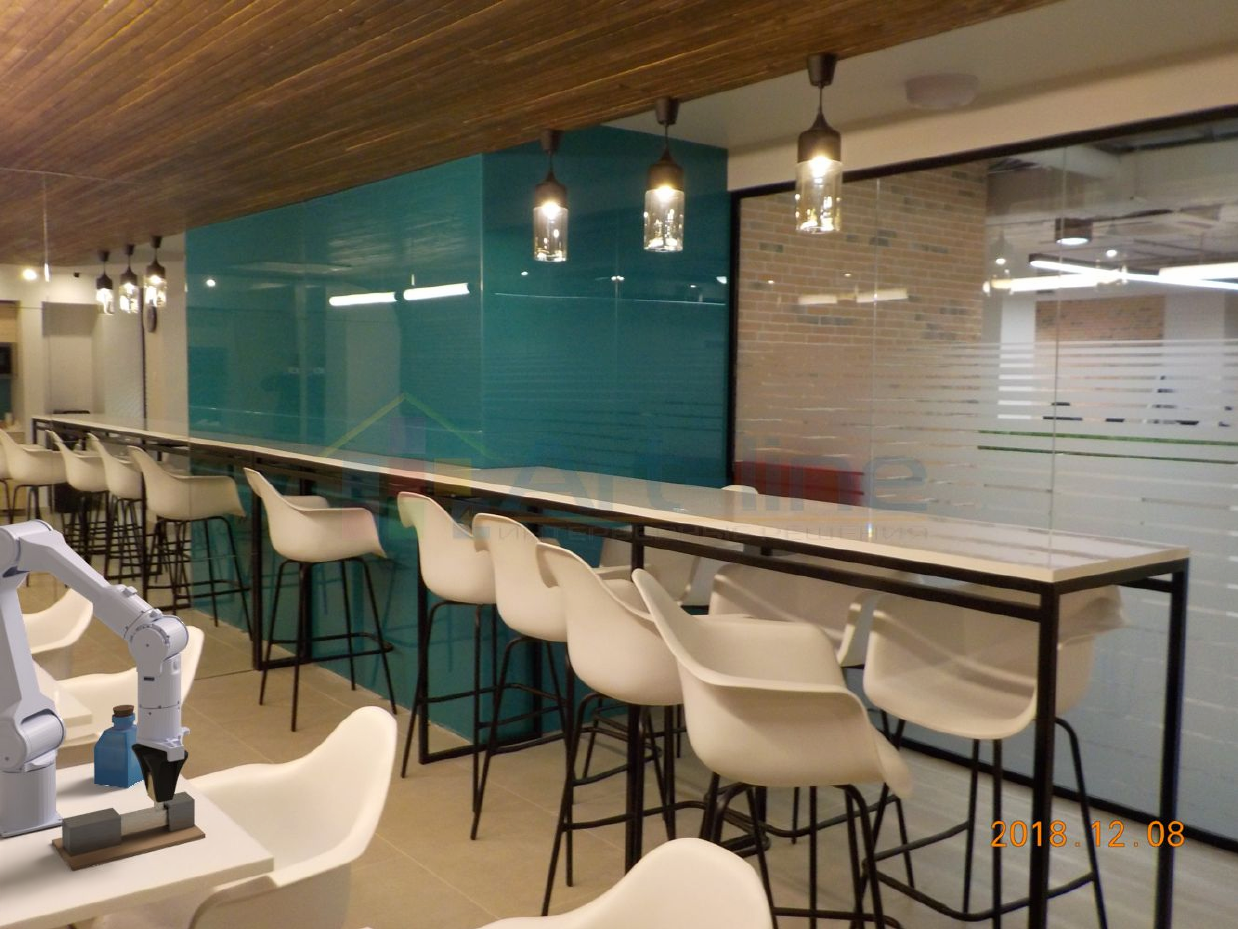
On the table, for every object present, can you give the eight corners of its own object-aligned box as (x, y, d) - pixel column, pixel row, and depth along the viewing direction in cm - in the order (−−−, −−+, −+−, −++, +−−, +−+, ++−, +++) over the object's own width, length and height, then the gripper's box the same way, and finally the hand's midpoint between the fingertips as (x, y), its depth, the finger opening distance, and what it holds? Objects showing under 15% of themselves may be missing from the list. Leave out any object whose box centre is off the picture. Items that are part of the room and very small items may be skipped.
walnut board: (52, 843, 147) (51, 839, 147) (179, 813, 158) (179, 810, 158) (72, 871, 138) (72, 867, 138) (205, 837, 150) (205, 834, 150)
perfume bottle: (128, 788, 167) (127, 714, 167) (94, 784, 169) (93, 711, 168) (152, 775, 173) (152, 703, 173) (119, 771, 175) (119, 700, 174)
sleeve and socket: (62, 847, 144) (62, 818, 144) (185, 818, 155) (185, 791, 155) (69, 857, 141) (69, 828, 141) (194, 826, 152) (194, 799, 152)
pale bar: (106, 831, 148) (105, 781, 147) (178, 814, 154) (178, 766, 154) (113, 839, 145) (113, 788, 145) (187, 821, 152) (187, 773, 151)
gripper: (206, 710, 147) (206, 805, 148) (171, 687, 158) (171, 775, 159) (153, 719, 142) (153, 817, 143) (121, 695, 153) (122, 786, 154)
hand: (159, 796), depth 150 cm, fingers closed on pale bar, 4 cm apart
